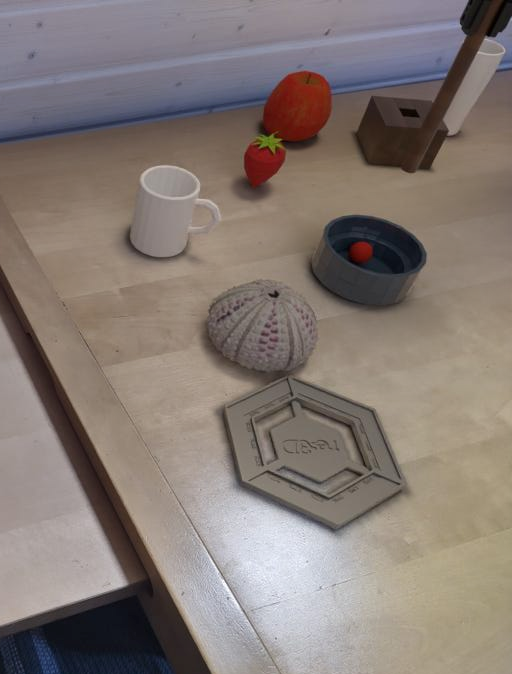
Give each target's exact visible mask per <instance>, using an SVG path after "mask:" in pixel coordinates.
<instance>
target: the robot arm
mask: <svg viewBox="0 0 512 674" xmlns="http://www.w3.org/2000/svg"><path fill="white" fill-rule="evenodd" d="M490 2H491V0H467V3H466V5H465V7H464V9H463V10H462V11H463V12H462V14H461V16H460V17H459V25H460V26H461V31H462V32H463V34H464V35H465V36H467V35H474V33H475V32H476V30H477V28H478V26H479V24H480V22H481V20H482V18H483V16H484V14H485V12H486V10H487V8H488V6H489V4H490ZM511 19H512V0H504V2H503V4H502V6H501V8H500V9H499V11H498V13H497V15H496V17H495V19H494V21H493V23H492V25H491V27H490V29H489V31H488V33H487V35H486V37H487V38H494V39H495V38H496V37H497V36H498V35H499V33H502V32H503V31H505V30H506V28H507V26H508V24H509V23H510V22H511Z"/></svg>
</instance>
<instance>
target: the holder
mask: <svg viewBox="0 0 512 674" xmlns="http://www.w3.org/2000/svg"><path fill="white" fill-rule="evenodd" d="M433 102H434V101H432V100H428V99H418V98H417V99H416V98H403V97H393V96H381V95H371V96H370V99H369V101H368V103H367V105H366V109H365V111H364V114H363V116H362V118H361V121H360V123H359V126H358V127H357V130H356V133H355V134H356V136H357V138H358V141H359V144H360V146H361V149H362V150H363V153H364V155H365V158H366V160H367V163H368V164H369V165H379V166H388V167H389V166H392V167H400V168H401V167H402V165H403V163H404V161H405V159H406V157H407V155H408V153H409V151H410V149H411V147H412V145H413V143H414V140H415V138H416V136H417V134H418V132H419V130H420V128H421V126H422V124H423V122H424V120H425V118H426V116H427V114H428V112H429V110H430V108H431V106H432V104H433ZM448 132H449V129H448V128H447V126H446V124H445V123H444V121H443V120H442V122H441V124H440V126H439V128H438V130H437V132H436V134H435V136H434V137H433V139H432V141H431V143H430V145H429V147H428V149H427V151H426V153H425V155H424V157H423V159H422V161H421V163H420V165H419V167H418V169H423V170H425V169H426V170H430V169H431V167H432V165H433V163H434V161H435V159H436V158H437V156H438V153H439V152H440V150H441V148H442V146H443V144H444V142H445V140H446V138H447V137H448V136H447V134H448Z"/></svg>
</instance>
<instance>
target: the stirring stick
mask: <svg viewBox="0 0 512 674" xmlns="http://www.w3.org/2000/svg"><path fill="white" fill-rule="evenodd" d="M503 2H504V0H491V2H490V4H489V6H488V8H487V10H486V12H485V14H484V16H483V18H482V20H481V22H480V24H479V26H478V28H477V30H476V32H475V33H474V35H465V37H464V39H465V40H464V39H463V40H464V42H463V44H462V46H461V48H460V50H459V52H458V54H457V56H456V58H455V60H454V62H453V64H452V66H451V65H450V66H451V68H450V67H449V68H450V70H449V69H448V70H449V72H448V71H447V73H448V74H447V73H446V76H445V78H444V80H443V81H442V84H441V86H440V88H439V90H438V92H437V94H436V96H435V98H434V100H433V101H432V102H433V104H432V106H431V108H430V110H429V112H428V114H427V116H426V118H425V120H424V122H423V124H422V126H421V128H420V130H419V132H418V134H417V136H416V138H415V140H414V143H413V145H412V147H411V149H410V151H409V153H408V155H407V157H406V159H405V161H404V163H403V165H402V167H401V166H400V168H401V170H402V171H403V172H405V173H407V174H415V173H416V172H417V171H418V169H419V168H418V167H419V165H420V163H421V161H422V159H423V157H424V155H425V153H426V151H427V149H428V147H429V145H430V143H431V141H432V139H433V137H434V136H435V134H436V132H437V130H438V128H439V126H440V124H441V122H442V120H443V118H444V116H445V114H446V112H447V110H448V108H449V106H450V105H451V103H452V101H453V99H454V97H455V95H456V93H457V91H458V89H459V87H460V85H461V83H462V81H463V79H464V77H465V75H466V73H467V72H468V70H469V68H470V66H471V64H472V62H473V60H474V58H475V56H476V54H477V52H478V50H479V48H480V46H481V44H482V42H483V41H484V39H486V37H487V36H486V35H487V33H488V31H489V29H490V27H491V25H492V23H493V21H494V19H495V17H496V15H497V13H498V11H499V9H500V8H501V6H502V4H503Z"/></svg>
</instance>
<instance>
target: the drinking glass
mask: <svg viewBox="0 0 512 674" xmlns="http://www.w3.org/2000/svg"><path fill="white" fill-rule="evenodd" d="M464 40H465V38H464V39H463V40H462V42H461V44H460V45H459V47H458V49H457V51H456V53H455V55H454V56H453V59H452V61H451V62H450V63H451V64H450V65H449V68H448V71H447V73H446V75H447V74H448V72H449V70H450V68H451V66H452V64H453V62H454V60H455V58H456V56H457V54H458V52H459V50H460V48H461V46H462V44H463V42H464ZM505 53H506V49H505V47H504V46H503V45H502V44H501V43H498V42H497V41H495V40H491V39H487V38H485V39H484V41H483V42H482V44H481V46H480V48H479V50H478V52H477V54H476V56H475V58H474V60H473V62H472V64H471V66H470V68H469V70H468V72H467V73H466V75H465V77H464V79H463V81H462V83H461V85H460V87H459V89H458V91H457V93H456V95H455V97H454V99H453V101H452V103H451V105H450V106H449V108H448V110H447V112H446V114H445V116H444V118H443V121H444V123H445V124H446V126H447V128H448V129H449V132H448V134H447V136H446V137H451V136H454V135H456V134H458V133H459V132H460V130H461V128H462V126H463V124H464V122H465V121H466V119H467V118H468V116H469V115H470V113H471V111H472V109H473V108H474V107H475V105H476V104H477V102H478V100H479V98H480V97H481V95H482V94H483V92H484V91H485V89H486V88H487V86H488V84H489V83H490V81H491V80H492V79H493V77H494V75H495V73H496V71H497V69H498V68H499V65H500V64H501V62H502V60H503V57H504V55H505Z"/></svg>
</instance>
